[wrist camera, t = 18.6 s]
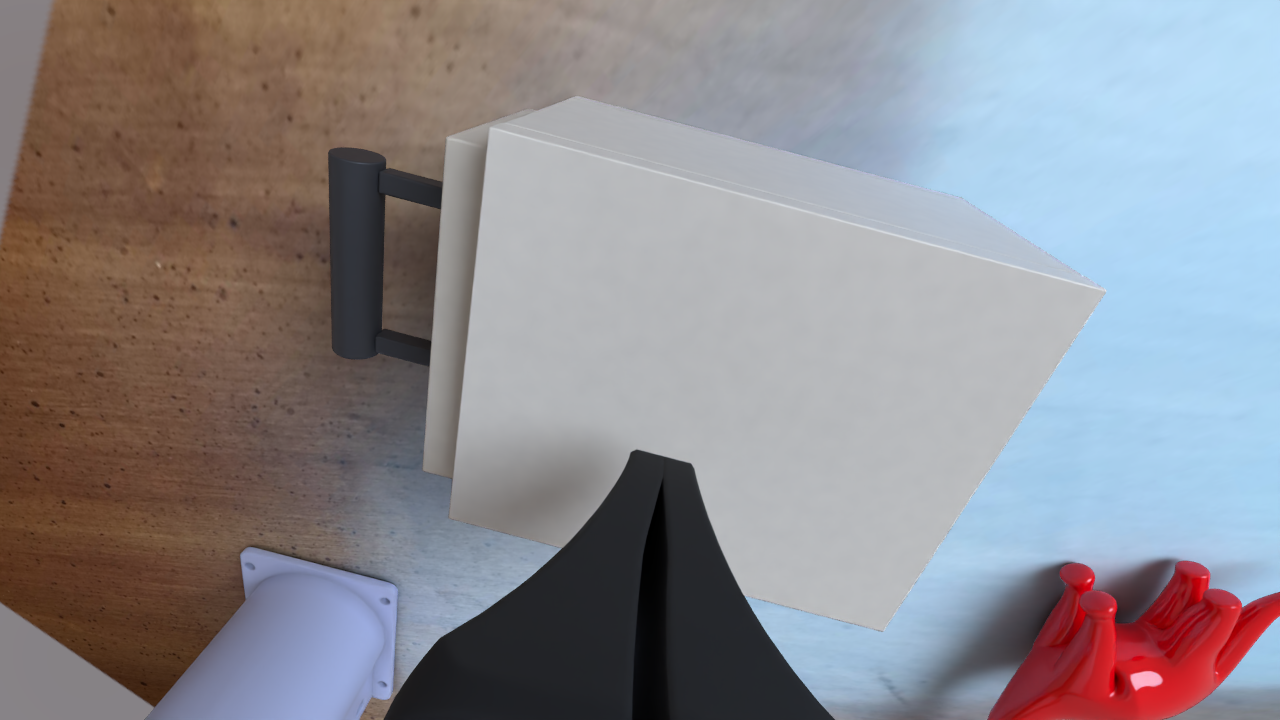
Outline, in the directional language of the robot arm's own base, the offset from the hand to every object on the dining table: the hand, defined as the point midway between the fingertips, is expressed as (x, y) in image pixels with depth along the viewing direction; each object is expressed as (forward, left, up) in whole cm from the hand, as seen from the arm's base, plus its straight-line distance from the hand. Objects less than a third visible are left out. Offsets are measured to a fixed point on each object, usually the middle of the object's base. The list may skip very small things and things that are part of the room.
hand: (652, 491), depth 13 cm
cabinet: (+1, -1, -10) cm, 10 cm away
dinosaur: (-5, -20, -8) cm, 22 cm away
